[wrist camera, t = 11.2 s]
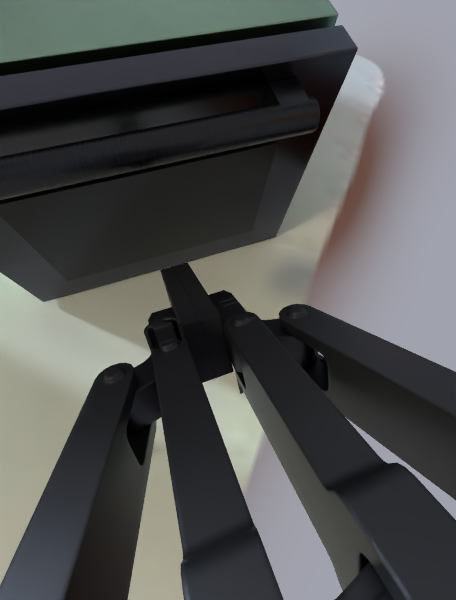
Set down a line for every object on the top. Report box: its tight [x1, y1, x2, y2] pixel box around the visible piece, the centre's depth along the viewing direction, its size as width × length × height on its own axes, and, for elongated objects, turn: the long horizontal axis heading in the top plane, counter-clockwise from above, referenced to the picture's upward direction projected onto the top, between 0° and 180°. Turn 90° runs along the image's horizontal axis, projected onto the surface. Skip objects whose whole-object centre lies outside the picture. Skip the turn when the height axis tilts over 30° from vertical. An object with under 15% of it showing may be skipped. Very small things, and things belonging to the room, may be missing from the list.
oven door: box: [0, 25, 358, 302], centre depth 19 cm, size 4×20×16 cm, turn 110°
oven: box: [0, 0, 338, 76], centre depth 22 cm, size 16×20×16 cm
